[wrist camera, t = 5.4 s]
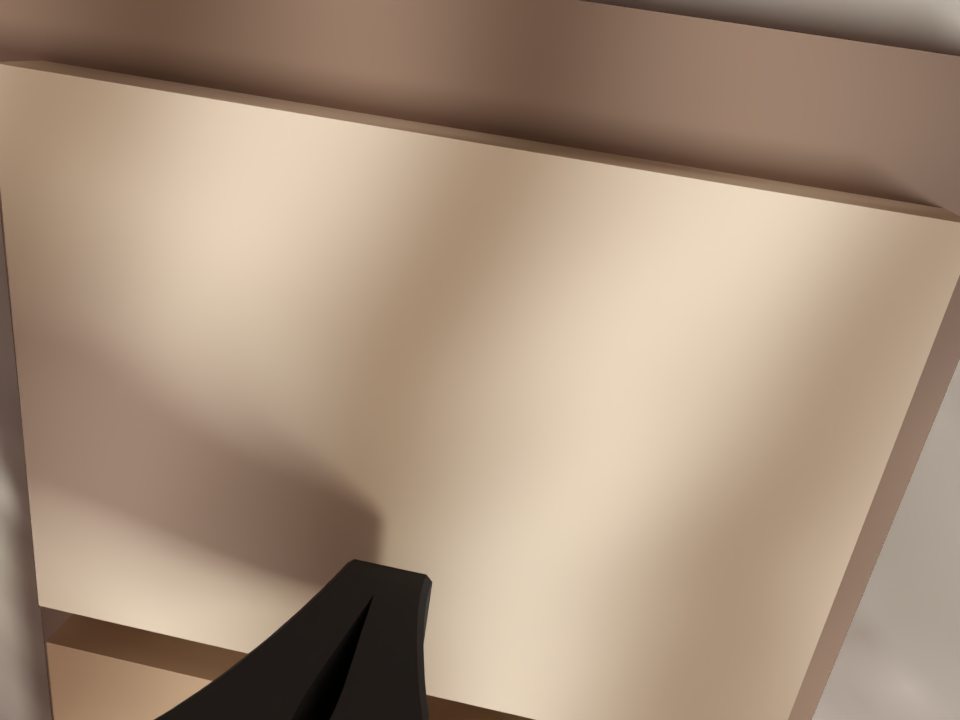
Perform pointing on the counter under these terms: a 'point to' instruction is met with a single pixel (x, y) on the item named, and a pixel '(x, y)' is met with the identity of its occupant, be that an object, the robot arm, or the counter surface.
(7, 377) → the counter surface
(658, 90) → the board
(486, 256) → the oak plank
